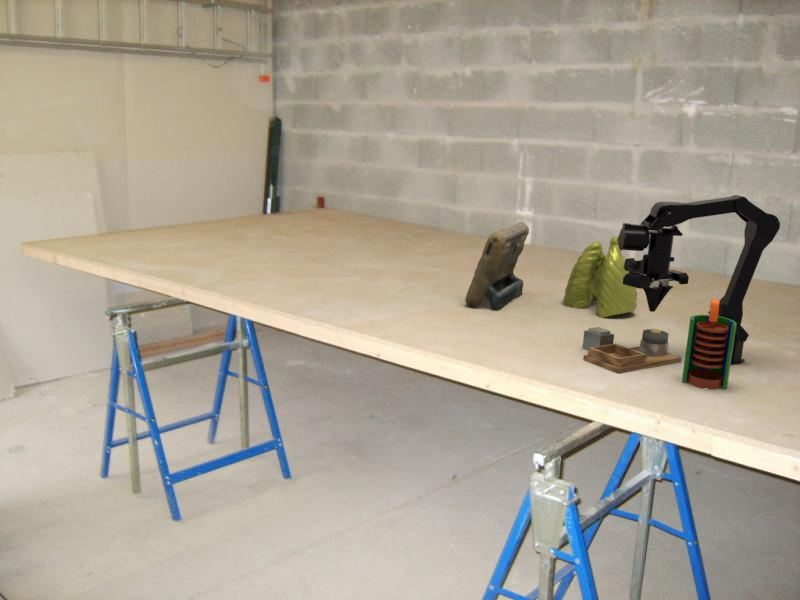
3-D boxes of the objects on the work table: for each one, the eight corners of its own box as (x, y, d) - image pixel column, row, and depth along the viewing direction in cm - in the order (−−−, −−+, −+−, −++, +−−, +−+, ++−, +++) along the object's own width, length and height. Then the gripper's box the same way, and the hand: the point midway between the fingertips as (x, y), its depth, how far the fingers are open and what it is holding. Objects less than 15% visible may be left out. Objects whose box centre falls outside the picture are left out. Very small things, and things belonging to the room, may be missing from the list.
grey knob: (671, 354, 212) (674, 332, 211) (654, 357, 209) (657, 334, 208) (652, 347, 218) (654, 326, 216) (635, 350, 214) (637, 328, 213)
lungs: (645, 316, 258) (654, 241, 253) (610, 321, 250) (618, 243, 244) (589, 299, 279) (596, 229, 273) (555, 303, 271) (561, 231, 265)
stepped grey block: (612, 352, 217) (614, 331, 216) (598, 354, 214) (600, 333, 213) (595, 346, 222) (598, 326, 221) (582, 348, 219) (584, 327, 218)
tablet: (486, 288, 288) (491, 218, 283) (525, 293, 284) (531, 221, 279) (463, 308, 258) (468, 229, 253) (506, 313, 254) (512, 233, 248)
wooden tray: (681, 361, 211) (683, 345, 210) (618, 373, 199) (620, 356, 198) (645, 349, 221) (647, 333, 220) (583, 359, 209) (584, 343, 208)
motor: (685, 387, 191) (696, 304, 187) (678, 375, 200) (688, 295, 195) (730, 391, 190) (742, 307, 185) (721, 379, 198) (733, 299, 194)
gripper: (659, 245, 219) (652, 301, 223) (610, 248, 209) (603, 307, 213) (693, 252, 210) (685, 311, 214) (643, 255, 200) (636, 317, 204)
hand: (652, 311), depth 211 cm, fingers closed
